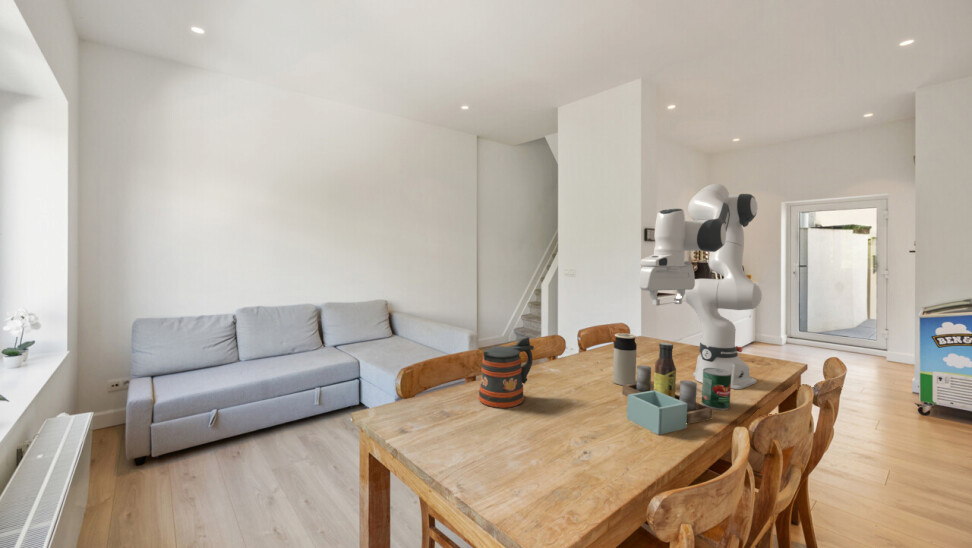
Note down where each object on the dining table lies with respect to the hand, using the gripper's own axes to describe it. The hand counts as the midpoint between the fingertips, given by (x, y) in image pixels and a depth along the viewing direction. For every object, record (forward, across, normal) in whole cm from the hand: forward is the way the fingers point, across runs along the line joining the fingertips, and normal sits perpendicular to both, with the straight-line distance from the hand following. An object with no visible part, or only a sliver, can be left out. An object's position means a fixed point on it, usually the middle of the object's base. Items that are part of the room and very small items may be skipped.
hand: (667, 304), depth 126 cm
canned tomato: (+32, -16, +6) cm, 37 cm away
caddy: (+32, +13, +9) cm, 36 cm away
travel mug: (+32, -4, -22) cm, 39 cm away
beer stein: (+33, +44, -24) cm, 60 cm away
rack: (+32, 0, 0) cm, 32 cm away
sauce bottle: (+32, 0, 0) cm, 33 cm away
